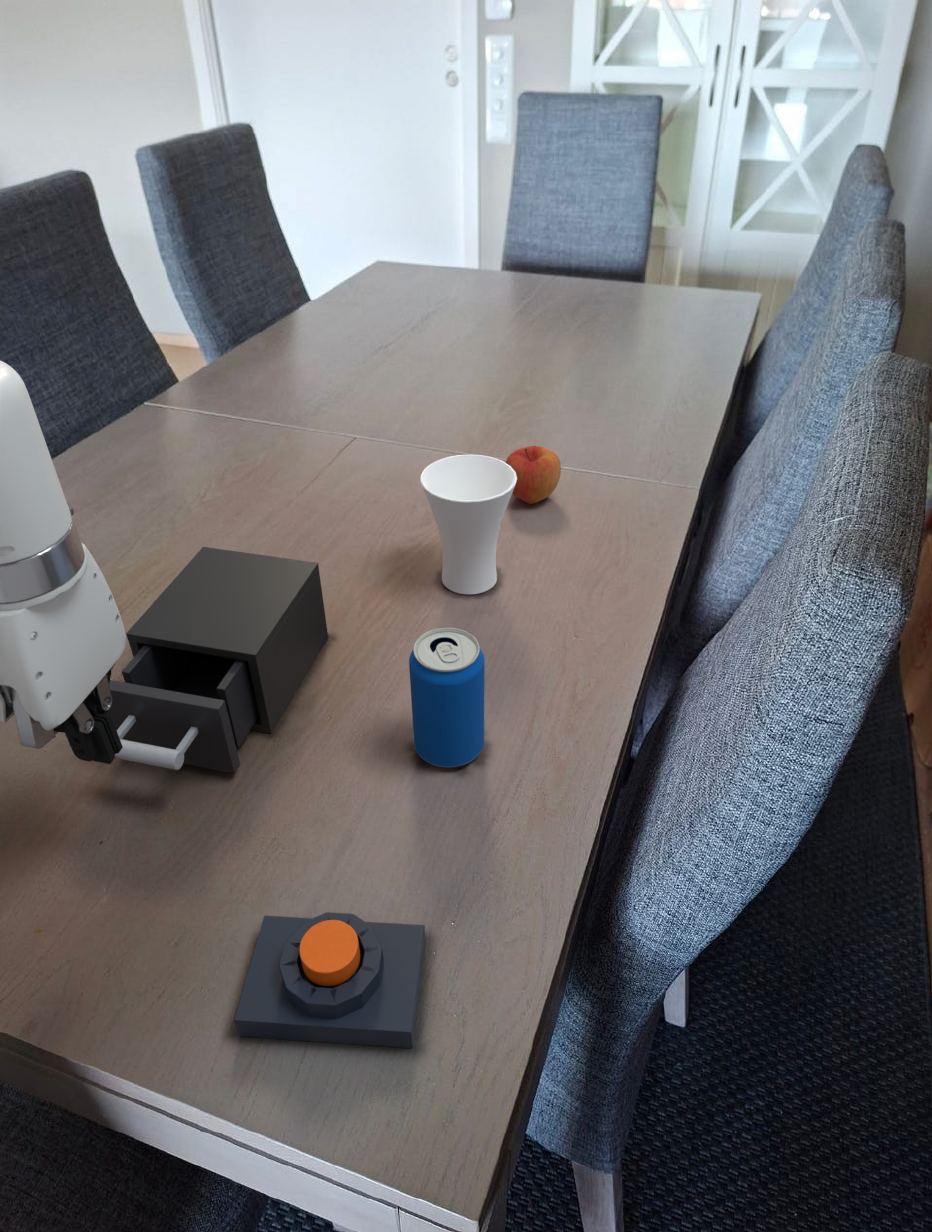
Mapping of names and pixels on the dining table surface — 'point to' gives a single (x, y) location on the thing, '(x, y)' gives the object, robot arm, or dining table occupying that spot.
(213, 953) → the dining table surface
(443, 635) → the beverage can
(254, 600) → the black cabinet
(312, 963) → the button
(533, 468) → the apple
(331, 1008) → the control block
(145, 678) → the drawer
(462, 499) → the cup
